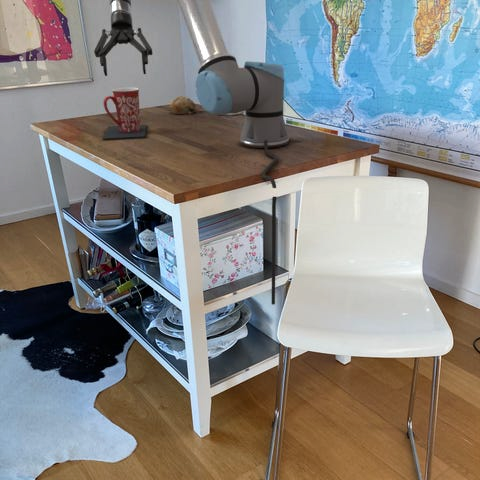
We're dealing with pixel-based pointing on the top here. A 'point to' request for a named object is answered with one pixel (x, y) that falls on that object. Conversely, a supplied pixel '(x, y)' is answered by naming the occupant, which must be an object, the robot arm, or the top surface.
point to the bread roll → (182, 106)
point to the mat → (123, 133)
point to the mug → (126, 109)
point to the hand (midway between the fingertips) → (124, 72)
